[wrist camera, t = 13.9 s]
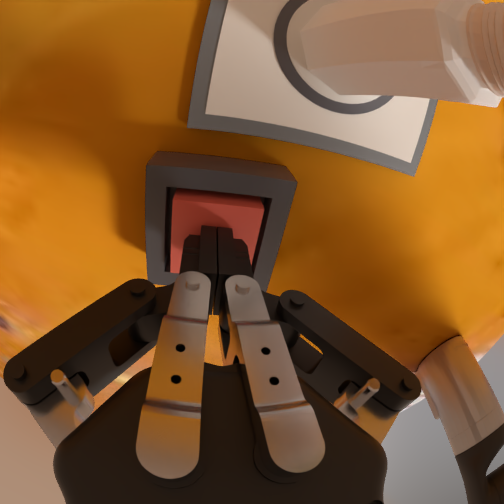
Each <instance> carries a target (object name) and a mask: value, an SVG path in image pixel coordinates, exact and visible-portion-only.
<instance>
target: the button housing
mask: <svg viewBox="0 0 504 504" xmlns="http://www.w3.org/2000/svg"><path fill="white" fill-rule="evenodd" d="M296 186H297V181H296V179H295V178H294V177H293V175H292V174H291V173H290V171H289V170H288V169H287V167H286V166H282V165H276V164H270V163H263V162H257V161H250V160H243V159H235V158H227V157H219V156H210V155H201V154H190V153H178V152H164V151H157V152H156V153H155V154H154V156H153V157H152V158H151V160H150V161H149V162H148V163H147V165H146V189H145V231H146V259H147V276H148V281H150V282H151V283H153V284H158V285H170V284H172V283H173V282H175V280H176V278H177V277H178V276H179V273H171V226H172V205H173V198H174V195H175V192H176V189H177V188H187V189H198V190H208V191H217V192H227V193H235V194H244V195H252V196H260V198H261V201H262V204H263V207H264V213H263V217H262V222H261V226H260V230H259V235H258V239H257V243H256V247H255V252H254V256H253V260H252V265H251V268H252V273H253V278H254V280H255V281H257V283H258V284H259V286H260V289H261V290H263V291H264V292H266V291H267V288H268V284H269V281H270V277H271V274H272V271H273V267H274V264H275V261H276V257H277V254H278V250H279V247H280V243H281V240H282V236H283V233H284V229H285V226H286V222H287V219H288V215H289V211H290V208H291V204H292V201H293V197H294V193H295V190H296Z"/></svg>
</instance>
